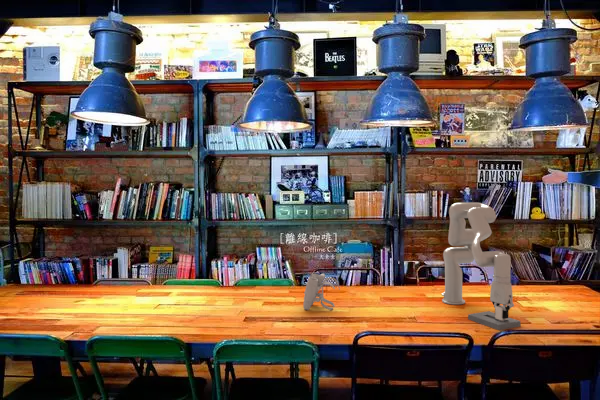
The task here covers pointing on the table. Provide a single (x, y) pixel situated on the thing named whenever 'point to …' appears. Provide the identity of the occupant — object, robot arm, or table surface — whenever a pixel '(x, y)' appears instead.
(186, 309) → the table surface
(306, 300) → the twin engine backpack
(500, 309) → the peg
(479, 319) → the keyhole plate
